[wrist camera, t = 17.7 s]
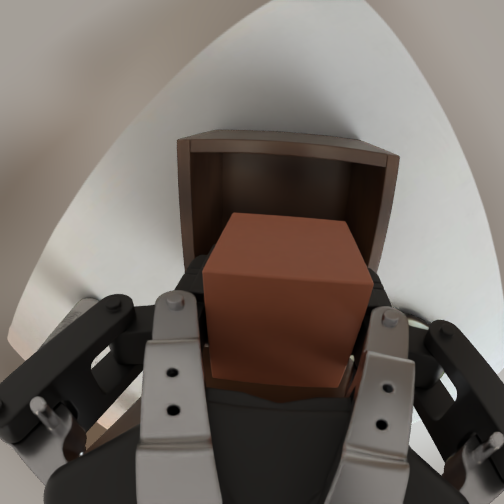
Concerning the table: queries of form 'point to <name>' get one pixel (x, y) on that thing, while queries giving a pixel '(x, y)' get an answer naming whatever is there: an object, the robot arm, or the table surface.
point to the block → (284, 300)
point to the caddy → (283, 184)
